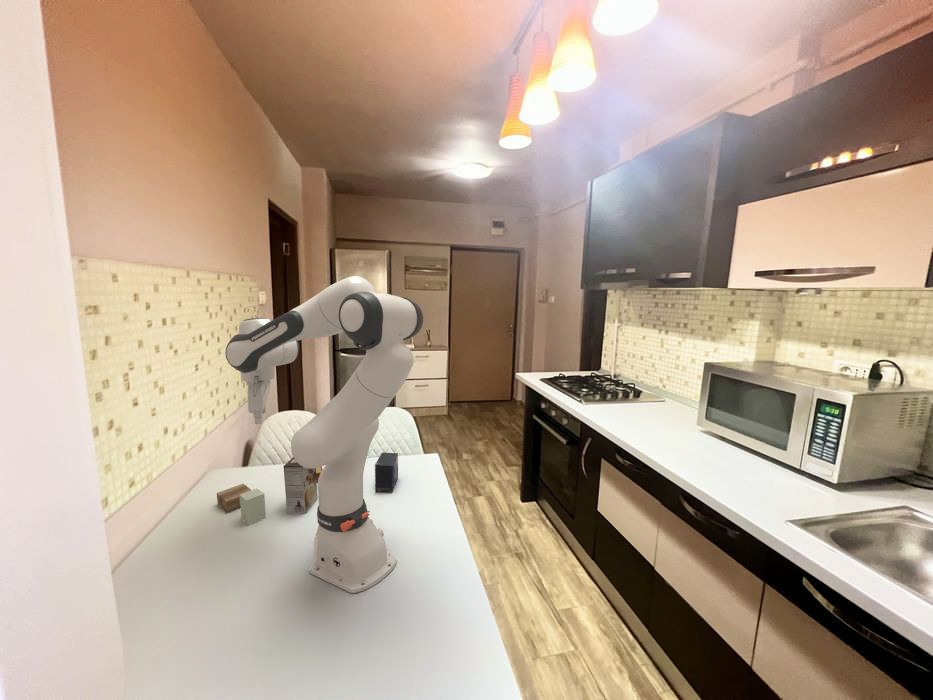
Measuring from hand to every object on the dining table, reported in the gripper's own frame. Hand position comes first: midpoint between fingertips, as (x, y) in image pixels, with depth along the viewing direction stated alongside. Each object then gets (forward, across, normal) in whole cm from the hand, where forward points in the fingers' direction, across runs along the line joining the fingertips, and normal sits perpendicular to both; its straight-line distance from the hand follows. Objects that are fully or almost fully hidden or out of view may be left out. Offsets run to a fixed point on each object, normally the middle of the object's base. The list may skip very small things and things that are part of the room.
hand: (260, 417), depth 114 cm
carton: (+32, +23, -13) cm, 42 cm away
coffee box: (+32, +1, -10) cm, 33 cm away
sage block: (+32, -1, +3) cm, 32 cm away
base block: (+32, +10, +10) cm, 35 cm away
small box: (+31, +4, -38) cm, 50 cm away
